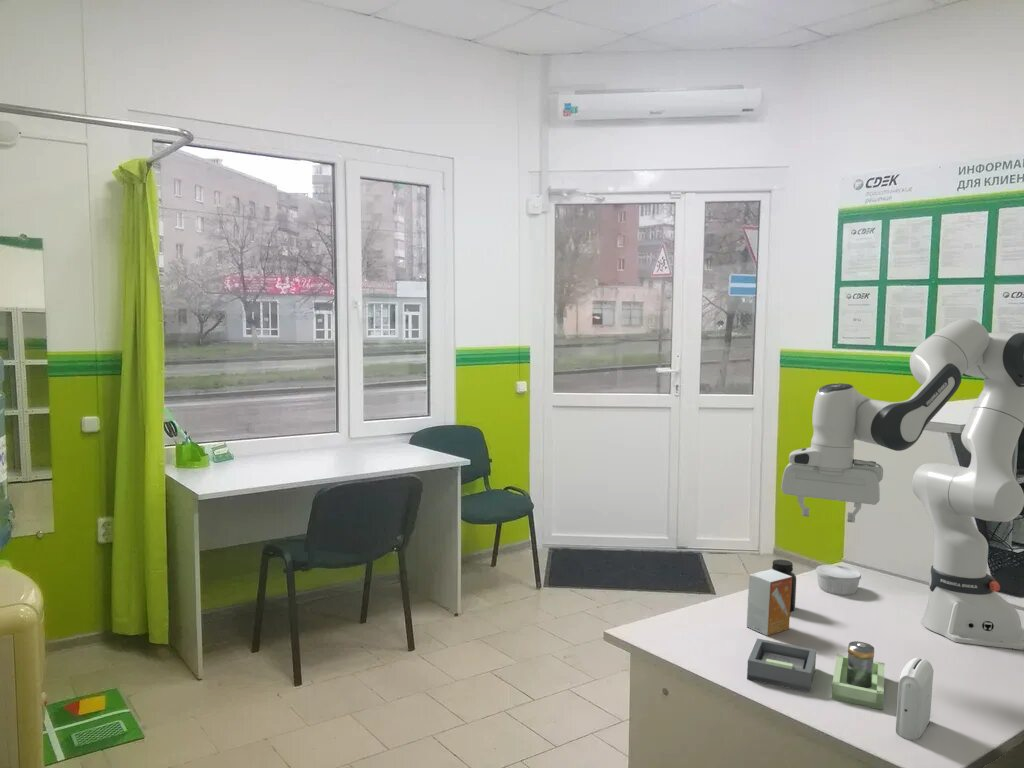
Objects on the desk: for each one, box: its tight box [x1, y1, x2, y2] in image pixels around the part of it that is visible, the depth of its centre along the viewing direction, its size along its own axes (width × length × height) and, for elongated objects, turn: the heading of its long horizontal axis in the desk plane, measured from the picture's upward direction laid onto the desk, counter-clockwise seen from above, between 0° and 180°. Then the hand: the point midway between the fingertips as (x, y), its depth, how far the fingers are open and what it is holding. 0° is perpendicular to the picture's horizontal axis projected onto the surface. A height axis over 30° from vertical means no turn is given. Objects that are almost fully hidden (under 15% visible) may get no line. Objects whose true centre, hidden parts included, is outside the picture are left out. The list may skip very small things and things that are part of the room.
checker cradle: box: [746, 638, 817, 694], centre depth 161 cm, size 12×12×5 cm
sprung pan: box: [762, 652, 805, 669], centre depth 161 cm, size 8×8×1 cm
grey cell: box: [847, 641, 875, 688], centre depth 155 cm, size 5×5×8 cm
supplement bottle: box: [771, 558, 797, 613], centre depth 197 cm, size 7×7×12 cm
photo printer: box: [895, 657, 934, 741], centre depth 141 cm, size 10×4×12 cm, turn 140°
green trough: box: [831, 653, 886, 711], centre depth 156 cm, size 9×15×3 cm, turn 154°
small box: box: [746, 568, 792, 637], centre depth 184 cm, size 8×6×13 cm
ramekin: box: [815, 564, 862, 596], centre depth 212 cm, size 11×11×5 cm
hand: (828, 518), depth 173 cm, fingers open, 8 cm apart
